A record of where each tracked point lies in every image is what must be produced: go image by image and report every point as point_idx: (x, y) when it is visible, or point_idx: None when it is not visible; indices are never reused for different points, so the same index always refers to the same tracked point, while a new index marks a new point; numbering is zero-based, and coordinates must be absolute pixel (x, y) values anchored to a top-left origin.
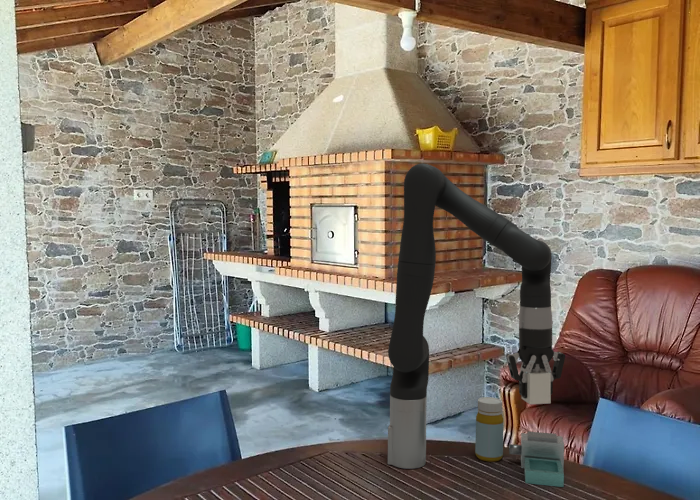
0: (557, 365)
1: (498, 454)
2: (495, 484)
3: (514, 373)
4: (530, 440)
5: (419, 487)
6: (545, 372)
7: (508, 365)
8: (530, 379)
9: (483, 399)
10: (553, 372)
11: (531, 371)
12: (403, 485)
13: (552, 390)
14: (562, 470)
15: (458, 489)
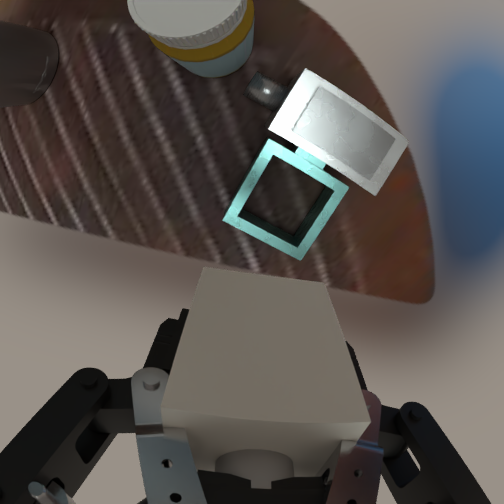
0: (404, 500)
1: (222, 75)
2: (155, 201)
3: (77, 444)
4: (295, 139)
5: (22, 189)
6: None
7: (22, 434)
8: None
9: None
10: (399, 439)
11: (215, 465)
12: (4, 177)
13: None
14: (312, 241)
15: (78, 209)
